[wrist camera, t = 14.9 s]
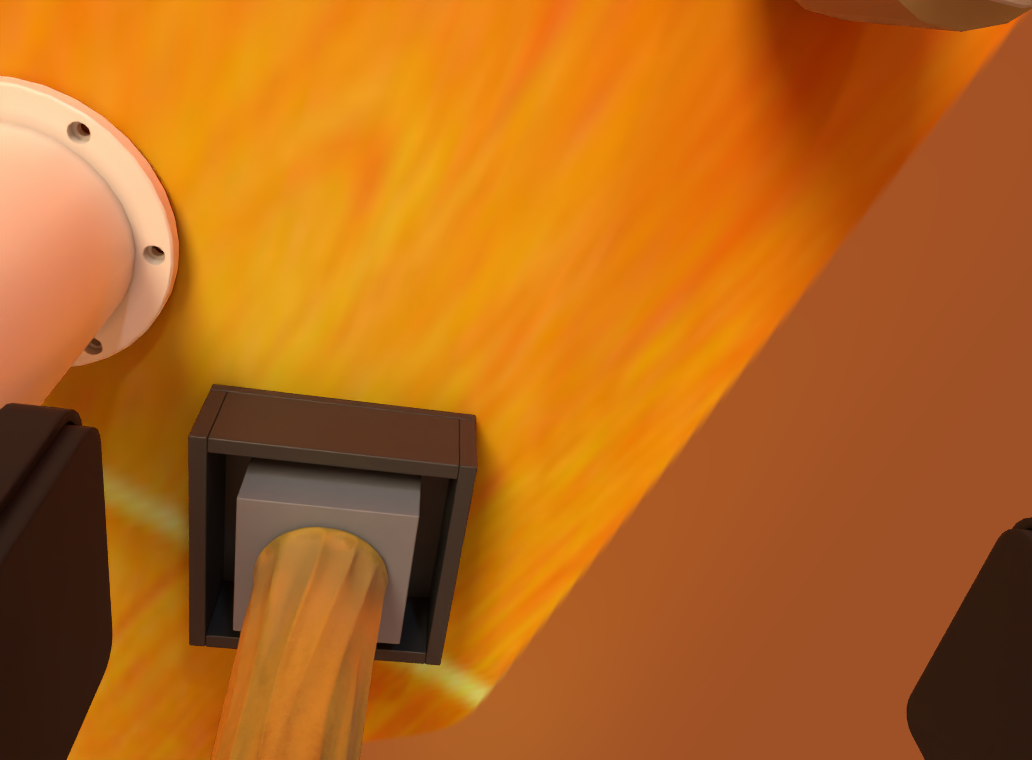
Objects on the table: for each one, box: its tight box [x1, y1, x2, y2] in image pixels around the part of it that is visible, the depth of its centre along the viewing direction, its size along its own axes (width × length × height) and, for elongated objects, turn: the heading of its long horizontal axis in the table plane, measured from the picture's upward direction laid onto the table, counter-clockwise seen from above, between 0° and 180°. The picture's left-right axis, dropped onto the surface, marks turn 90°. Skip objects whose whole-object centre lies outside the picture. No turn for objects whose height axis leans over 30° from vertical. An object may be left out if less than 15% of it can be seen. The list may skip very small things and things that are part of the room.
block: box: [233, 457, 422, 644], centre depth 43 cm, size 8×8×5 cm
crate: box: [188, 384, 477, 665], centre depth 44 cm, size 13×13×4 cm
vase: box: [210, 527, 388, 760], centre depth 35 cm, size 6×6×14 cm
